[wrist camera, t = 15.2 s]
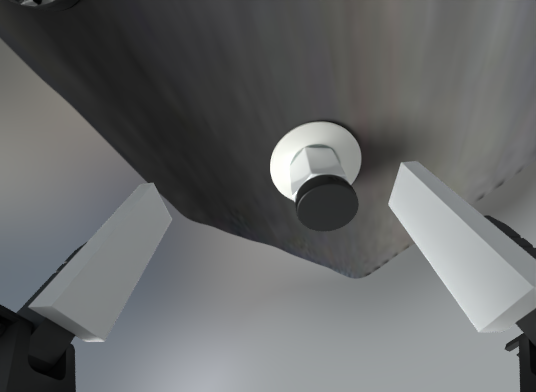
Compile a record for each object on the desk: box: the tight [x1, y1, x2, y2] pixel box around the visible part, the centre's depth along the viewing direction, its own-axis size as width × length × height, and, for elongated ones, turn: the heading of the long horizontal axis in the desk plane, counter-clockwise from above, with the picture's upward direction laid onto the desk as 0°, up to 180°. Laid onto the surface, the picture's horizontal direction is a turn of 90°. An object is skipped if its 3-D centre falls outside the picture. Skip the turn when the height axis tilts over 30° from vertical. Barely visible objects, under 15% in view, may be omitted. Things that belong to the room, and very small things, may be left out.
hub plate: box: [270, 121, 361, 200], centre depth 38 cm, size 16×16×1 cm
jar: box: [289, 147, 358, 231], centre depth 32 cm, size 9×8×12 cm
